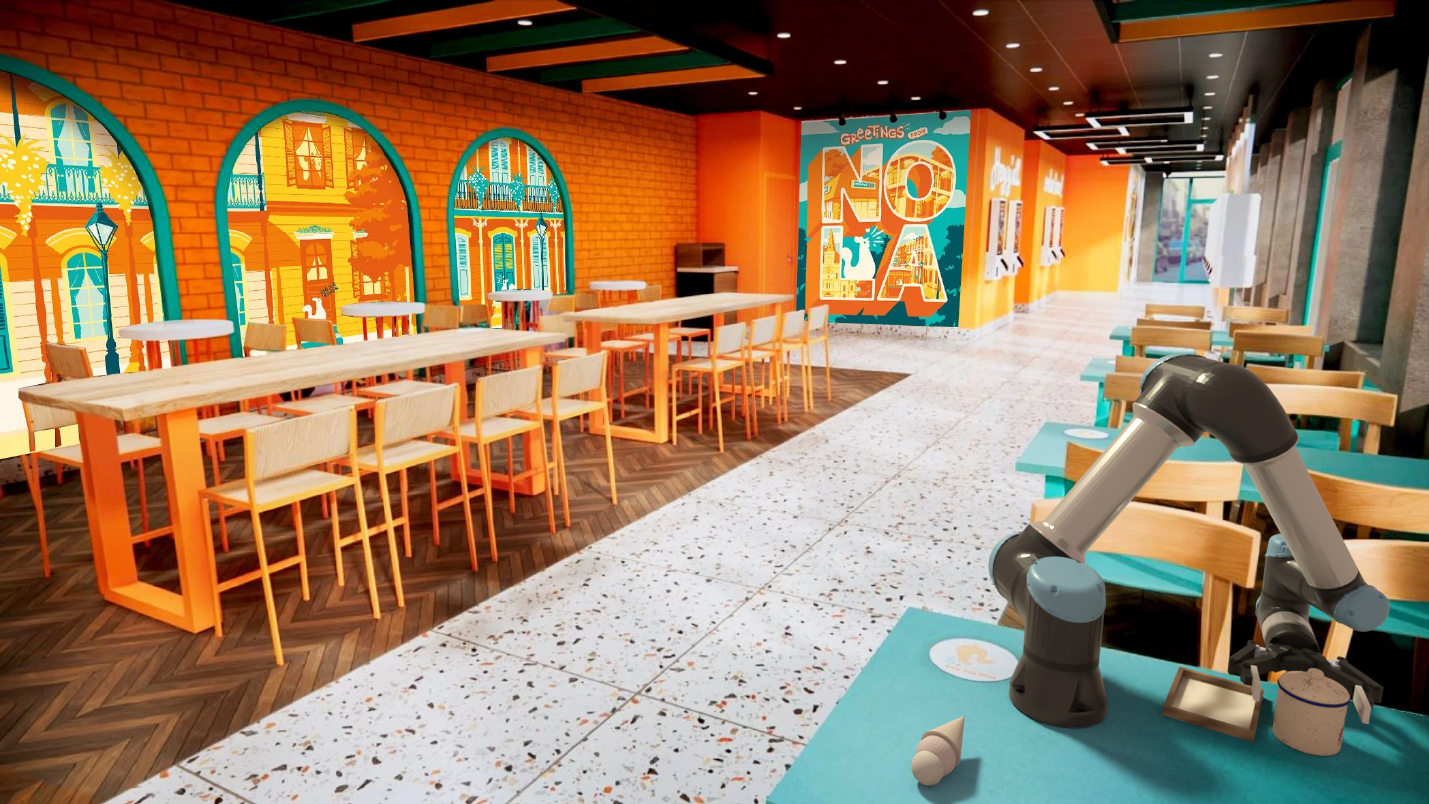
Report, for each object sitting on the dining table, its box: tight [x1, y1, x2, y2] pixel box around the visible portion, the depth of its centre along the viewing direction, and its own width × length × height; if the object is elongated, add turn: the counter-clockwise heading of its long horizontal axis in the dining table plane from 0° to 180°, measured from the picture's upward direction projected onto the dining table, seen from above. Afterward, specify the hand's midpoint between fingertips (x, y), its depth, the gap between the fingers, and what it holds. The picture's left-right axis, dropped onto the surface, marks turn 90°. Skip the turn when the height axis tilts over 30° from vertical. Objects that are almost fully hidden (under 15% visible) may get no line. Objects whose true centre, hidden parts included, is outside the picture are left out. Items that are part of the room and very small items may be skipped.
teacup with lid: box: [1272, 668, 1351, 757], centre depth 129 cm, size 12×9×12 cm
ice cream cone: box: [910, 715, 966, 786], centre depth 123 cm, size 6×6×15 cm
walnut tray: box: [1161, 666, 1265, 743], centre depth 138 cm, size 13×16×2 cm
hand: (1310, 704), depth 126 cm, fingers open, 13 cm apart
